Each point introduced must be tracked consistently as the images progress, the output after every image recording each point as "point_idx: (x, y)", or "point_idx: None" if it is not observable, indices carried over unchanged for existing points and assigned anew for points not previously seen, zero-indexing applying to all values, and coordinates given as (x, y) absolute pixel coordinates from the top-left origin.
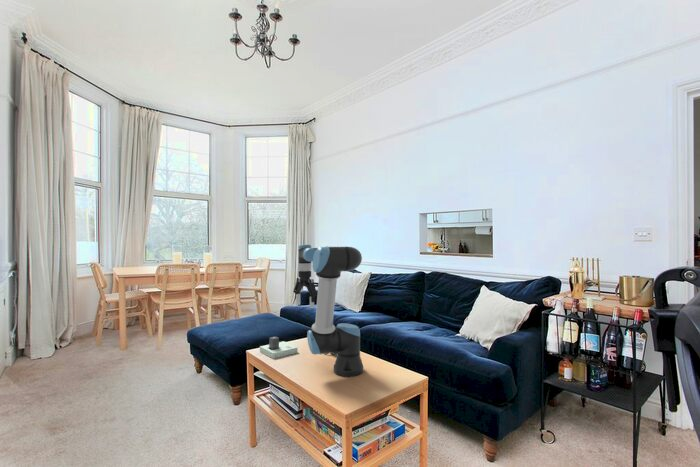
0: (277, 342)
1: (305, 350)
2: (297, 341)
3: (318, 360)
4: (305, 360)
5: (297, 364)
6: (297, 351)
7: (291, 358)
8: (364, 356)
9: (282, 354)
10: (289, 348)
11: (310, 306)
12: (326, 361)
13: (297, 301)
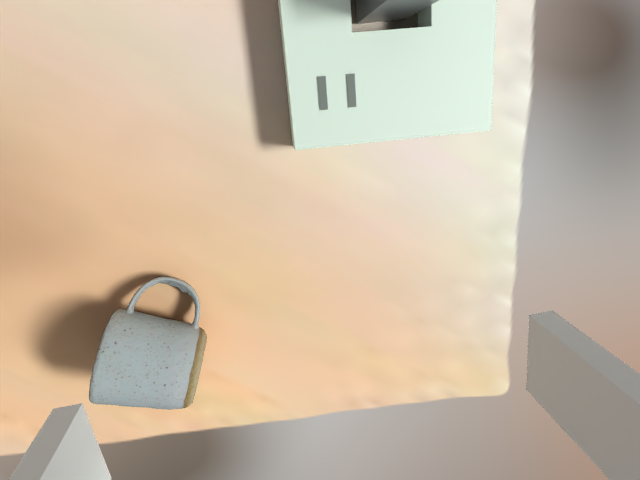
0: None
1: (301, 210)
2: (497, 251)
3: (66, 186)
4: (109, 113)
5: (55, 22)
6: (293, 146)
7: (200, 48)
8: (6, 438)
9: (279, 11)
10: (306, 85)
11: (37, 435)
12: (22, 220)
13: (581, 376)
